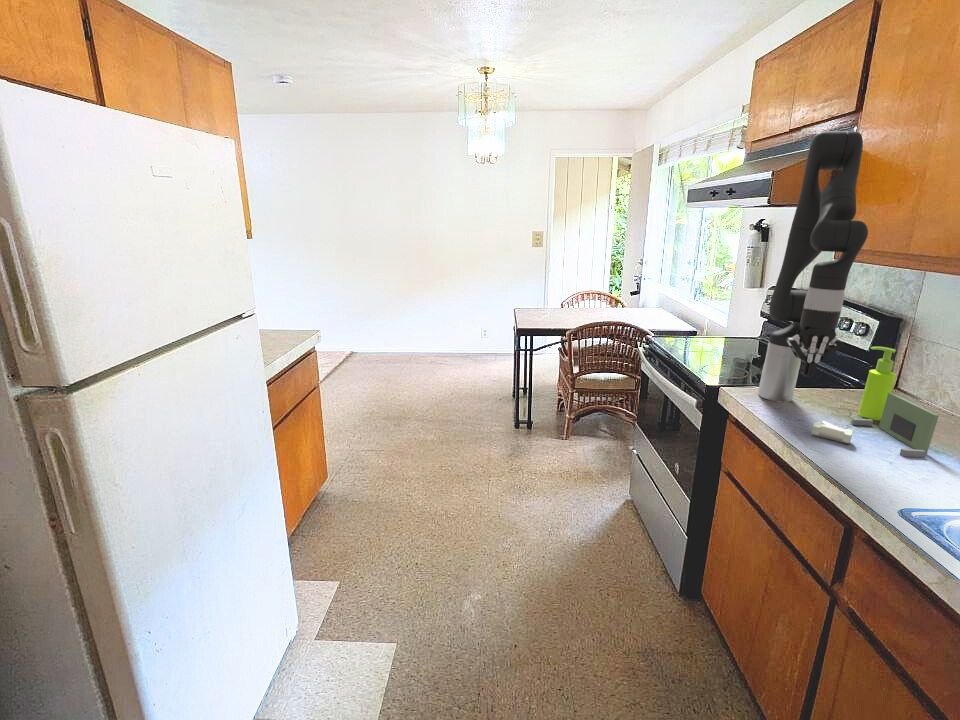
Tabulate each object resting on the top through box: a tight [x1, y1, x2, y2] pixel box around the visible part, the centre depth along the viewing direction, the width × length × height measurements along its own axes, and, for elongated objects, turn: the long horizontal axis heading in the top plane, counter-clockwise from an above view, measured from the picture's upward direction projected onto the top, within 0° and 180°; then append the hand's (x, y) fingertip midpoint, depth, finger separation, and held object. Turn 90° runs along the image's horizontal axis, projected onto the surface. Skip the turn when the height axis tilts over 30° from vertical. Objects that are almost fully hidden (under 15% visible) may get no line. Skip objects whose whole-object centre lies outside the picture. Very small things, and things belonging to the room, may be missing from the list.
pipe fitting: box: [811, 420, 854, 446], centre depth 126 cm, size 8×4×7 cm
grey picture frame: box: [850, 392, 940, 458], centre depth 124 cm, size 19×7×10 cm, turn 176°
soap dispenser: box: [857, 346, 897, 421], centre depth 138 cm, size 6×7×20 cm
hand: (806, 376), depth 122 cm, fingers closed
